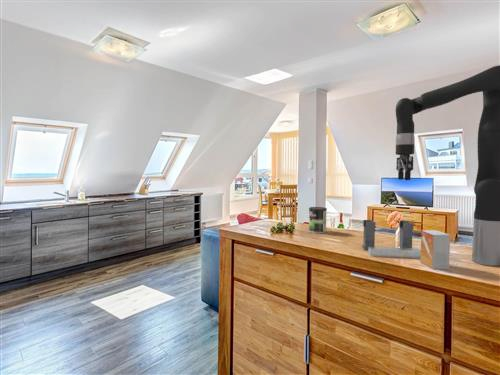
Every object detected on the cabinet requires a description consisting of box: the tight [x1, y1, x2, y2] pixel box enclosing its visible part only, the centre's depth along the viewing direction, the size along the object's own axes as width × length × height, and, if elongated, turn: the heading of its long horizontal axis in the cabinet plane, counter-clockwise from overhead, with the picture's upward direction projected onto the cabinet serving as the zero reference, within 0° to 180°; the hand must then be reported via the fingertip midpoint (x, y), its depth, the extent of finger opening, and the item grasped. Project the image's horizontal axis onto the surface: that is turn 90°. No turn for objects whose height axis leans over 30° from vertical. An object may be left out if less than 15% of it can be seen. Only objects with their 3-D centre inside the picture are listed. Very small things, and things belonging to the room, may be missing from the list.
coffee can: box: [308, 206, 328, 234], centre depth 175 cm, size 10×10×14 cm
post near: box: [398, 220, 415, 248], centre depth 134 cm, size 5×6×13 cm
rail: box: [367, 246, 421, 259], centre depth 126 cm, size 20×4×4 cm, turn 81°
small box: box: [419, 229, 451, 270], centre depth 112 cm, size 8×6×13 cm
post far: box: [361, 219, 376, 251], centre depth 137 cm, size 5×6×13 cm
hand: (404, 179), depth 134 cm, fingers open, 8 cm apart
